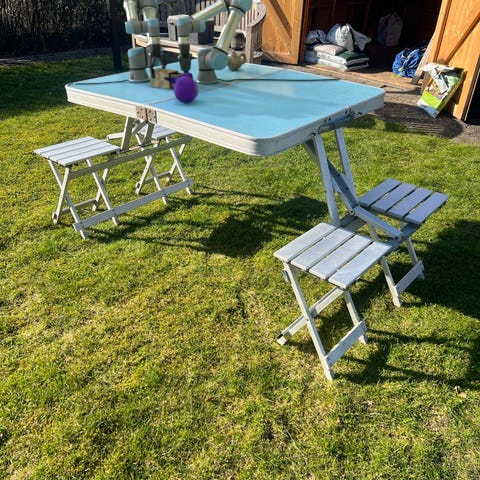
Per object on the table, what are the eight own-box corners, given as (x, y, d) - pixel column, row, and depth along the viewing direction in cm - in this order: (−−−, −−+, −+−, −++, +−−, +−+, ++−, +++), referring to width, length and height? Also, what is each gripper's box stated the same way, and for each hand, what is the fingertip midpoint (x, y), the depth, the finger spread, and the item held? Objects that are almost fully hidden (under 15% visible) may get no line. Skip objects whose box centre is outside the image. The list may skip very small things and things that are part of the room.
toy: (187, 94, 295) (198, 108, 275) (161, 90, 288) (170, 104, 267) (192, 70, 287) (203, 83, 267) (165, 65, 280) (175, 77, 259)
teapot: (227, 72, 362) (226, 52, 355) (220, 70, 371) (219, 51, 363) (249, 69, 371) (249, 50, 364) (242, 67, 380) (242, 48, 372)
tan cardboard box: (179, 86, 319) (178, 70, 314) (169, 89, 312) (168, 72, 306) (161, 84, 328) (159, 68, 322) (151, 86, 321) (149, 70, 315)
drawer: (194, 87, 312) (193, 73, 307) (185, 90, 305) (184, 75, 300) (170, 84, 323) (169, 70, 318) (161, 86, 316) (160, 72, 311)
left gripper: (147, 45, 298) (151, 80, 310) (170, 41, 315) (173, 74, 326) (139, 45, 302) (143, 79, 313) (162, 41, 318) (165, 73, 330)
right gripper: (181, 45, 289) (184, 83, 300) (194, 42, 298) (196, 79, 310) (173, 44, 292) (176, 82, 304) (186, 42, 301) (188, 78, 313)
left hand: (158, 77), depth 320 cm, fingers closed on tan cardboard box, 10 cm apart
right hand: (186, 80), depth 307 cm, fingers closed
